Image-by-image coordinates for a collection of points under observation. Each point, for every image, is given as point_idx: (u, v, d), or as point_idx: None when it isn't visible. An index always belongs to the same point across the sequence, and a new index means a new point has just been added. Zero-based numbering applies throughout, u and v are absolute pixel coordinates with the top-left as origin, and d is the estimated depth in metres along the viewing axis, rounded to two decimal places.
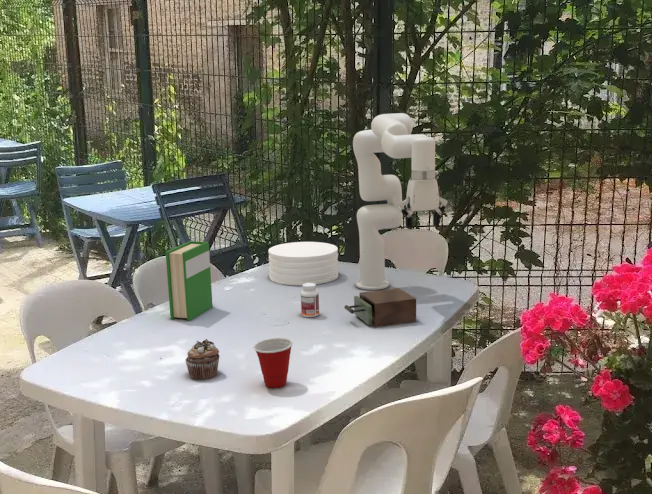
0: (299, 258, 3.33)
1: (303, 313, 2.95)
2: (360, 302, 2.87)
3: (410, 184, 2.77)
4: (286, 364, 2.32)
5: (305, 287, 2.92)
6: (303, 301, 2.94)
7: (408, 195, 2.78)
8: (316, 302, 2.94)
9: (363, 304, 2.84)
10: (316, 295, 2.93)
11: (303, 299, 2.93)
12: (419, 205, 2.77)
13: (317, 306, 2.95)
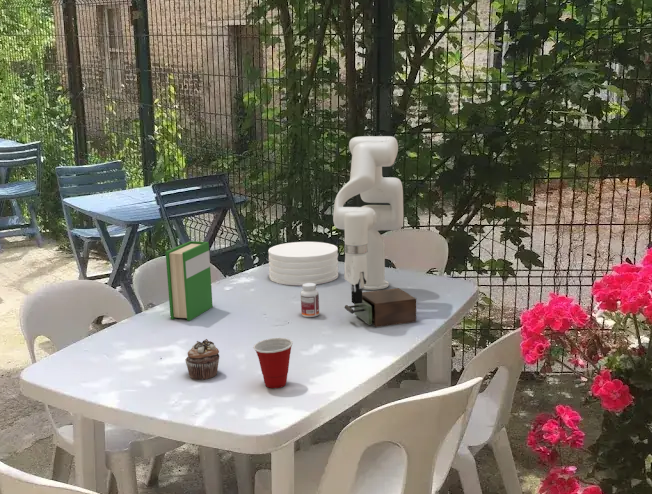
0: (299, 258, 3.33)
1: (303, 313, 2.95)
2: None
3: (361, 259, 2.77)
4: (286, 364, 2.32)
5: (305, 287, 2.92)
6: (303, 301, 2.94)
7: (361, 270, 2.78)
8: (316, 302, 2.94)
9: (363, 304, 2.84)
10: (316, 295, 2.93)
11: (303, 299, 2.93)
12: None
13: (317, 306, 2.95)
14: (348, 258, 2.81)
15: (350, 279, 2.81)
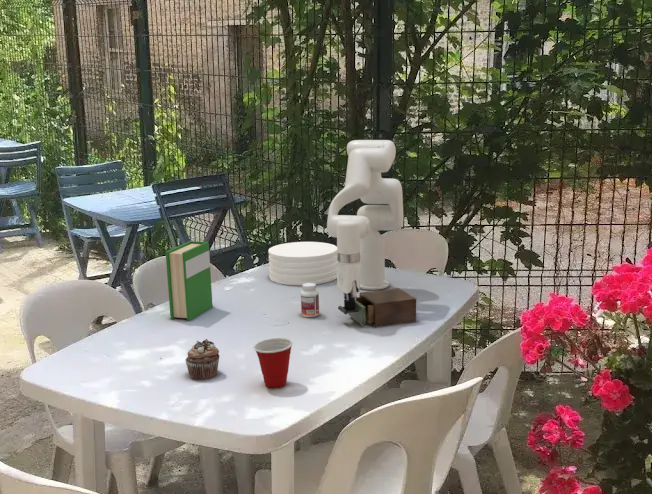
0: (299, 258, 3.33)
1: (303, 313, 2.95)
2: None
3: (353, 268, 2.77)
4: (286, 364, 2.32)
5: (305, 287, 2.92)
6: (303, 301, 2.94)
7: (353, 279, 2.78)
8: (316, 302, 2.94)
9: (357, 305, 2.84)
10: (316, 295, 2.93)
11: (303, 299, 2.93)
12: None
13: (317, 306, 2.95)
14: (341, 267, 2.81)
15: (342, 288, 2.81)
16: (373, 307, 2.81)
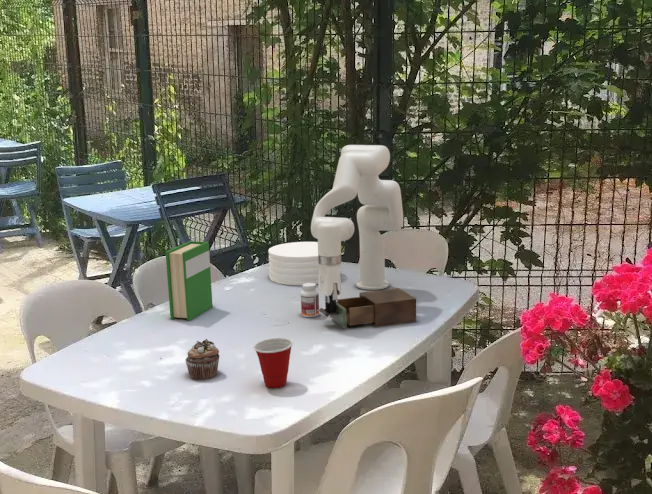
0: (299, 258, 3.33)
1: (303, 313, 2.95)
2: None
3: (334, 270, 2.75)
4: (286, 364, 2.32)
5: (305, 287, 2.92)
6: (303, 301, 2.94)
7: (334, 281, 2.76)
8: (316, 302, 2.94)
9: (338, 307, 2.82)
10: (316, 295, 2.93)
11: (303, 299, 2.93)
12: None
13: (317, 306, 2.95)
14: (322, 269, 2.79)
15: (323, 290, 2.79)
16: (354, 309, 2.79)
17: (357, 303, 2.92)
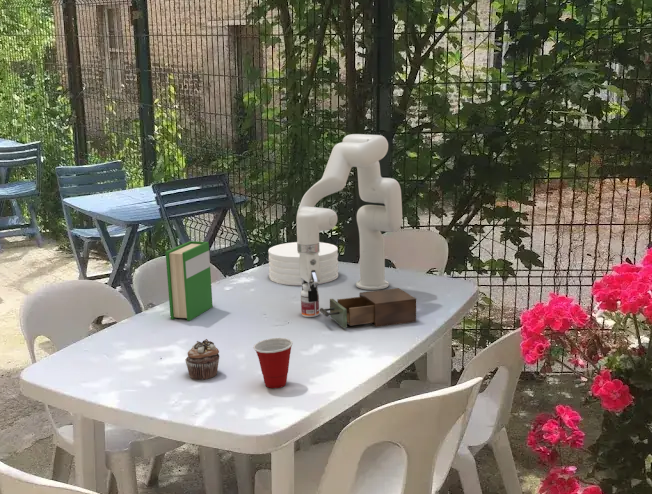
0: None
1: (303, 313, 2.95)
2: (335, 305, 2.84)
3: None
4: (286, 364, 2.32)
5: (305, 287, 2.92)
6: (303, 301, 2.94)
7: None
8: (316, 302, 2.94)
9: (338, 307, 2.82)
10: None
11: (303, 299, 2.93)
12: (301, 273, 2.95)
13: (317, 306, 2.95)
14: None
15: None
16: (354, 309, 2.79)
17: (357, 303, 2.92)
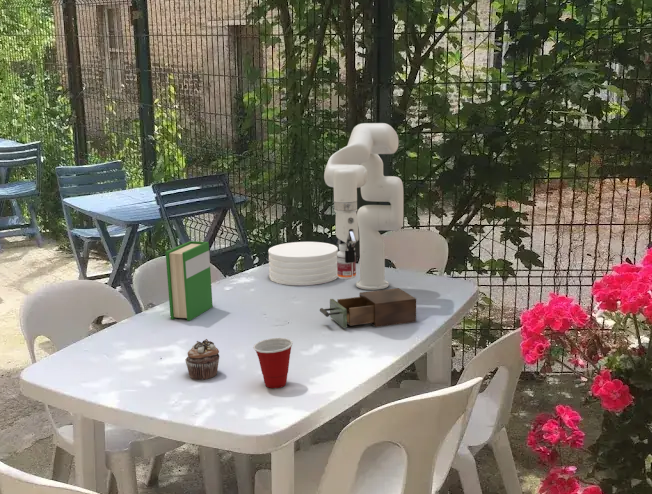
0: (299, 258, 3.33)
1: (339, 275, 2.83)
2: (335, 305, 2.84)
3: None
4: (286, 364, 2.32)
5: (342, 247, 2.80)
6: (339, 262, 2.81)
7: None
8: (353, 263, 2.82)
9: (338, 307, 2.82)
10: None
11: (339, 259, 2.81)
12: (337, 233, 2.83)
13: (354, 267, 2.82)
14: None
15: None
16: (354, 309, 2.79)
17: (357, 303, 2.92)
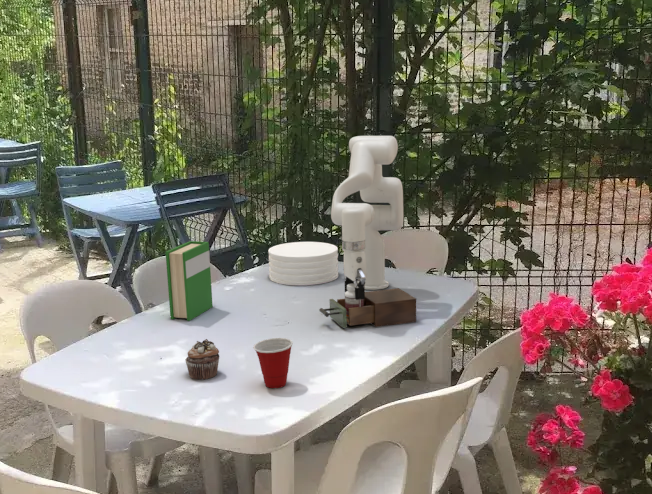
0: (299, 258, 3.33)
1: (347, 315, 2.85)
2: (335, 305, 2.84)
3: None
4: (286, 364, 2.32)
5: (350, 288, 2.82)
6: (347, 302, 2.83)
7: None
8: (361, 303, 2.84)
9: (338, 307, 2.82)
10: None
11: (347, 300, 2.83)
12: (345, 271, 2.84)
13: None
14: None
15: None
16: (354, 309, 2.79)
17: None
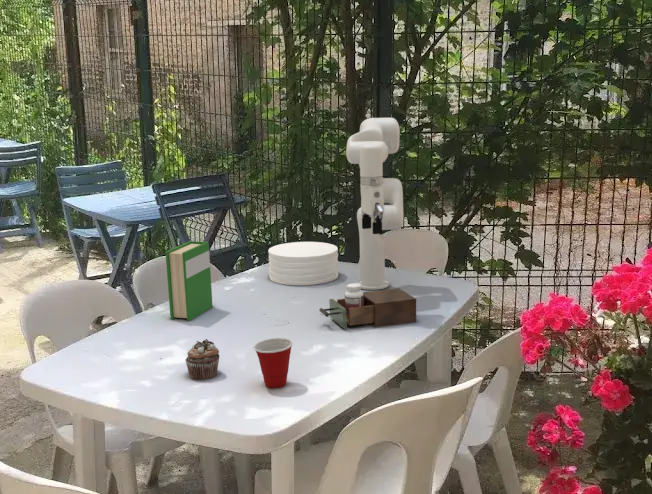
0: (299, 258, 3.33)
1: (347, 315, 2.85)
2: (335, 305, 2.84)
3: None
4: (286, 364, 2.32)
5: (350, 288, 2.82)
6: (347, 302, 2.83)
7: None
8: (361, 303, 2.84)
9: (338, 307, 2.82)
10: (361, 296, 2.83)
11: (347, 300, 2.83)
12: (363, 207, 2.92)
13: None
14: None
15: None
16: (354, 309, 2.79)
17: None
